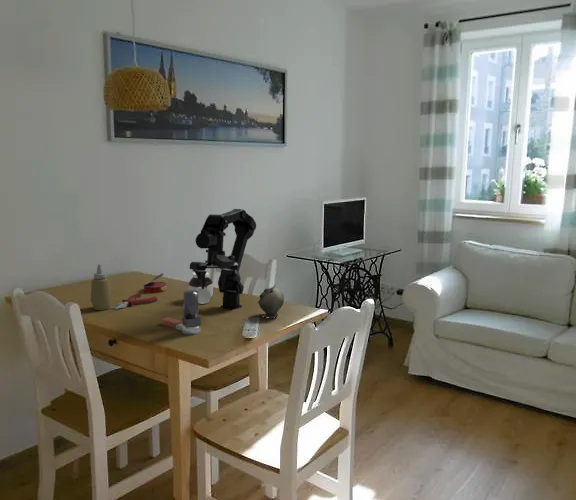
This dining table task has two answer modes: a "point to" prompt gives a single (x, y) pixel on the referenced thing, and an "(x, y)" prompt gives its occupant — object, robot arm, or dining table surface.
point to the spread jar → (204, 293)
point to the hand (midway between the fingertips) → (213, 288)
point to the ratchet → (180, 326)
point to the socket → (191, 309)
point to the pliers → (134, 301)
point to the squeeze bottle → (100, 290)
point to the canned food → (155, 286)
